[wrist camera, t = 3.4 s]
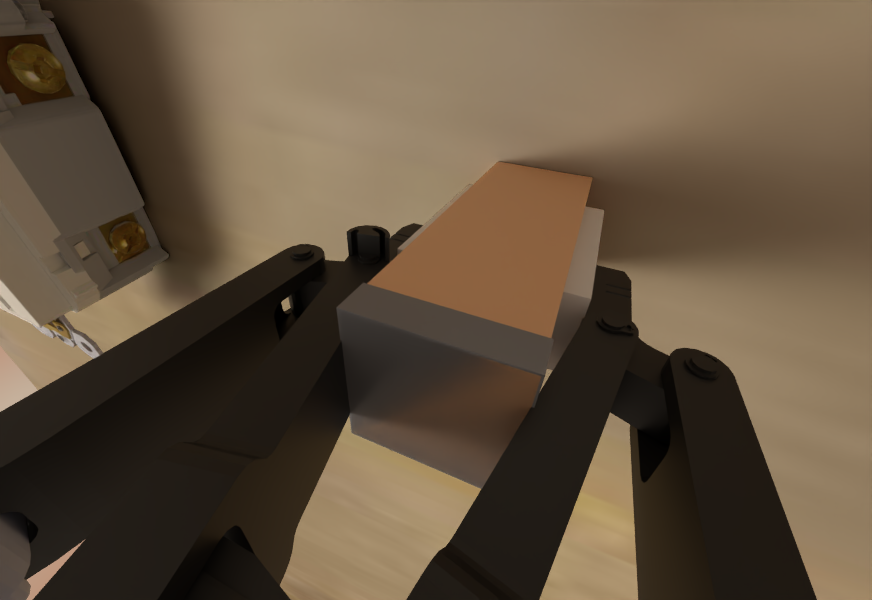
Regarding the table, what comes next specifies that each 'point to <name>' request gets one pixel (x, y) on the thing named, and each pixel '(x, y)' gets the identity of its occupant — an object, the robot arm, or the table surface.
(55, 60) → the electrical outlet
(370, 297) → the copper brown rectangular block
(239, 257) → the table surface
